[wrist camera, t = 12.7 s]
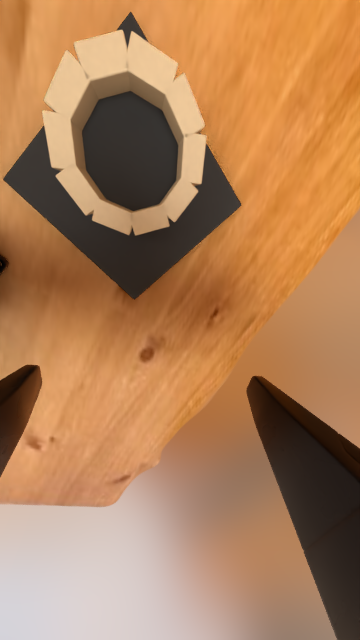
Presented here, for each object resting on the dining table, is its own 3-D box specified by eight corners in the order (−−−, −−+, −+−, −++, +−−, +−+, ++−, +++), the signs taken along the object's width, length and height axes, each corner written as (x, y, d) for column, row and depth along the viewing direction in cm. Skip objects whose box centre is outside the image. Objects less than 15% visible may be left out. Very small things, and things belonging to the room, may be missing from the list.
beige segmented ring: (122, 253, 17) (119, 260, 15) (24, 121, 13) (2, 107, 11) (218, 186, 16) (229, 185, 14) (146, 14, 12) (146, -27, 9)
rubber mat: (134, 298, 20) (134, 299, 20) (5, 179, 14) (2, 179, 14) (239, 205, 17) (241, 205, 17) (131, 16, 12) (130, 10, 11)
